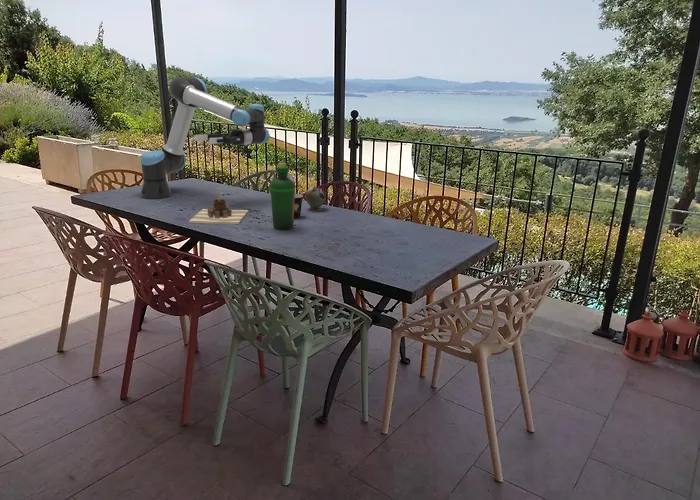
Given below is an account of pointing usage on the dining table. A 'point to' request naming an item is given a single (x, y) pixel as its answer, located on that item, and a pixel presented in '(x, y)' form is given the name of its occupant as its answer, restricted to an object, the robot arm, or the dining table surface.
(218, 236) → the dining table surface
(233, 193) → the dining table surface
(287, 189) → the bottle
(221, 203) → the utensil holder
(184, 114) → the robot arm
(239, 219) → the ring collar board
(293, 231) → the dining table surface
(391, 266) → the dining table surface
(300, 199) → the coffee mug
